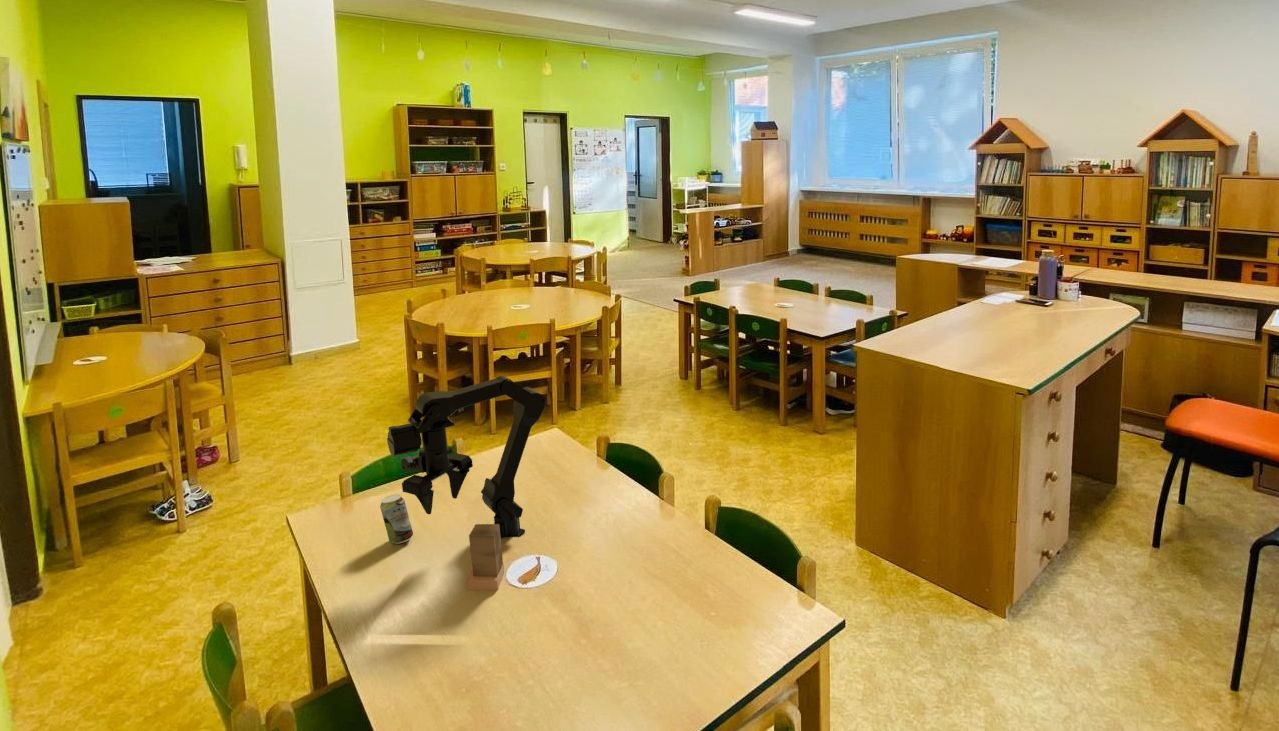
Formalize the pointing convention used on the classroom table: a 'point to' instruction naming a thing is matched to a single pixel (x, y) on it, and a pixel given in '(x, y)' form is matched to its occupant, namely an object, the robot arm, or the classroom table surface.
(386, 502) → the beverage can
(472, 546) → the walnut pillar
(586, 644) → the classroom table surface
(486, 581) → the terracotta tile
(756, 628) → the classroom table surface
